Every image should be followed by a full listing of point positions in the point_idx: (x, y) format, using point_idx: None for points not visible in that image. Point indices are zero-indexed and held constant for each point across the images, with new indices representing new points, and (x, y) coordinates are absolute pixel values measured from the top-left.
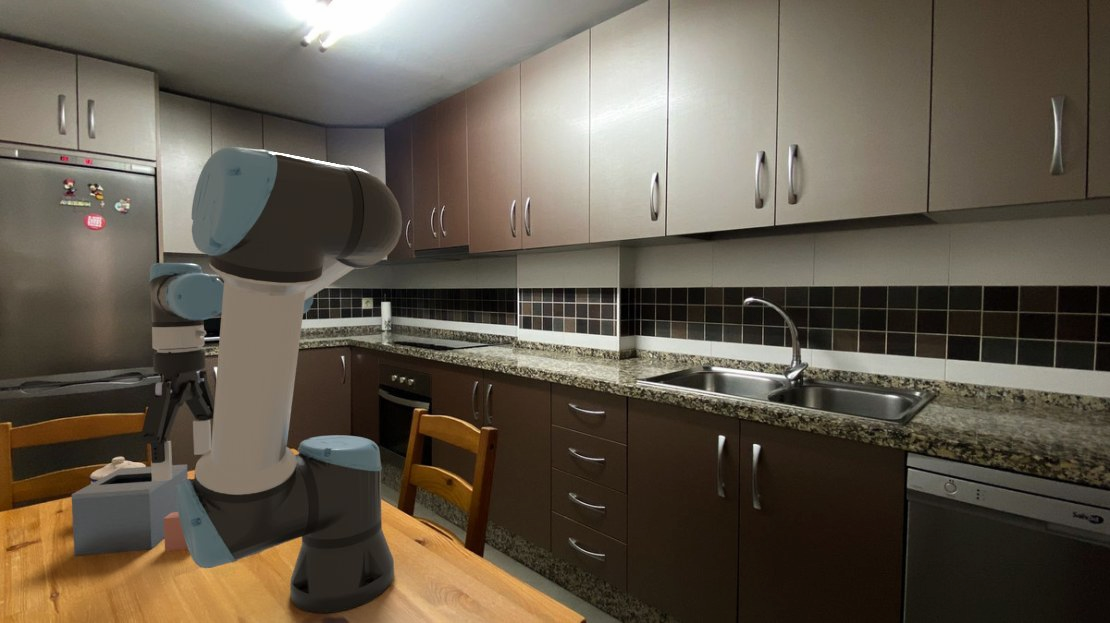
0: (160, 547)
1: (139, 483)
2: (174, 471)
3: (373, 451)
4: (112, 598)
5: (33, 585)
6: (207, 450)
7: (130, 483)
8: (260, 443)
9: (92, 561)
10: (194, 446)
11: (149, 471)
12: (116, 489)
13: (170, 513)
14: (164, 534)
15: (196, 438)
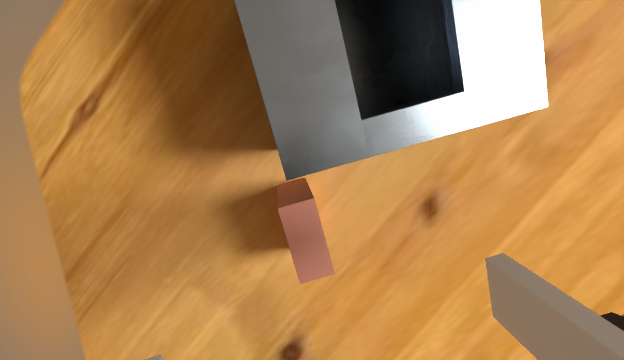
0: None
1: (339, 89)
2: (468, 122)
3: None
4: (102, 235)
5: (107, 18)
6: (503, 320)
7: (337, 49)
8: None
9: (217, 57)
10: (515, 282)
11: (473, 8)
12: (273, 46)
13: (309, 200)
14: (277, 196)
15: (553, 320)
